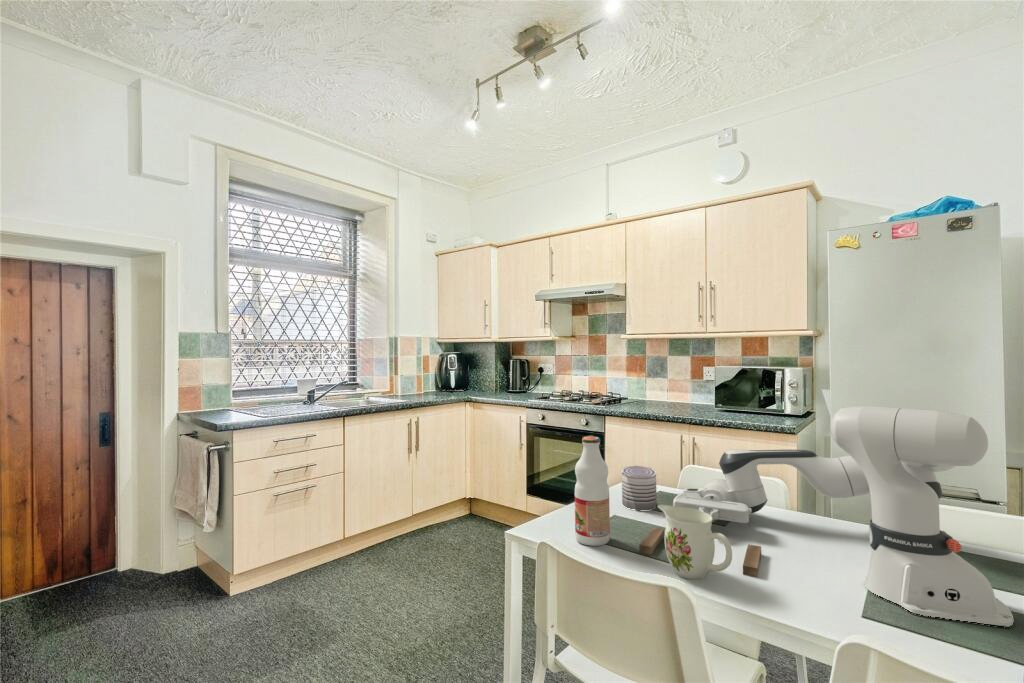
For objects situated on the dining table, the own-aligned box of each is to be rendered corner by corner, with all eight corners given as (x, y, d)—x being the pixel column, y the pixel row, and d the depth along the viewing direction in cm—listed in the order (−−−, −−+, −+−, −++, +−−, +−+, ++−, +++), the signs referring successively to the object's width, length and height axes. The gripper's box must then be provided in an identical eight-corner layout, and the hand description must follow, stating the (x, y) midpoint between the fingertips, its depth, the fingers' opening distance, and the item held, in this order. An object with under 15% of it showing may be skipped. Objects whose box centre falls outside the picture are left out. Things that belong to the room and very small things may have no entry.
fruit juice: (604, 549, 124) (602, 441, 124) (570, 543, 128) (569, 439, 129) (614, 536, 132) (612, 436, 133) (581, 531, 136) (580, 433, 137)
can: (659, 503, 161) (658, 467, 162) (654, 513, 151) (654, 475, 151) (625, 499, 166) (624, 464, 166) (618, 509, 156) (618, 472, 156)
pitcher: (720, 597, 99) (718, 530, 99) (646, 567, 113) (645, 509, 113) (743, 580, 106) (742, 518, 106) (671, 554, 120) (670, 500, 120)
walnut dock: (761, 554, 120) (761, 546, 120) (757, 577, 108) (757, 568, 108) (653, 534, 133) (653, 527, 133) (639, 552, 121) (639, 544, 121)
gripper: (752, 519, 137) (748, 535, 125) (679, 508, 147) (668, 522, 135) (752, 497, 137) (748, 511, 125) (678, 487, 147) (668, 500, 135)
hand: (706, 517), depth 130 cm, fingers closed
